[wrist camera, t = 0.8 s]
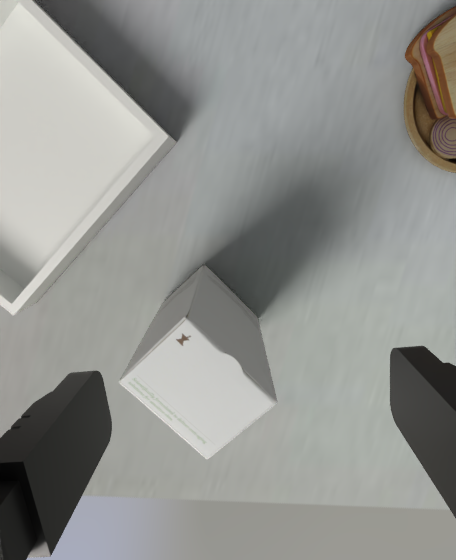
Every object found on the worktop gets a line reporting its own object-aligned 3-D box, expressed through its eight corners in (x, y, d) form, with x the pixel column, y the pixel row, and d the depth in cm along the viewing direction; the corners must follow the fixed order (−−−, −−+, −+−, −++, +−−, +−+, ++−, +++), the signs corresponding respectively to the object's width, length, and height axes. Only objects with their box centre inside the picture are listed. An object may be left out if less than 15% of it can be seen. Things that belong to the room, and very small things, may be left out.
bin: (23, -11, 31) (-8, -39, 27) (176, 142, 34) (168, 136, 30) (-109, 179, 36) (-152, 178, 32) (36, 302, 38) (13, 315, 34)
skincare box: (161, 303, 38) (108, 380, 23) (207, 259, 36) (184, 310, 21) (218, 358, 39) (204, 466, 24) (264, 318, 38) (281, 405, 23)
